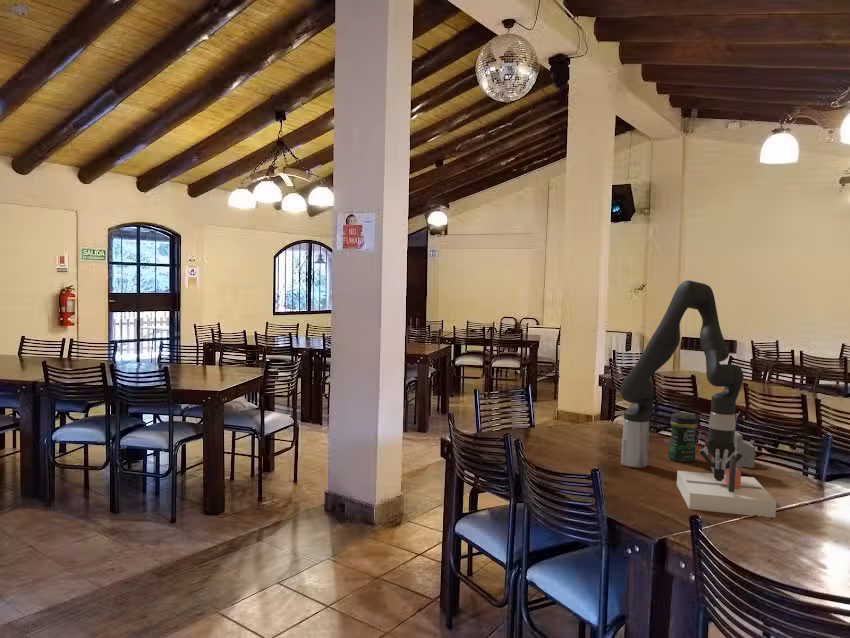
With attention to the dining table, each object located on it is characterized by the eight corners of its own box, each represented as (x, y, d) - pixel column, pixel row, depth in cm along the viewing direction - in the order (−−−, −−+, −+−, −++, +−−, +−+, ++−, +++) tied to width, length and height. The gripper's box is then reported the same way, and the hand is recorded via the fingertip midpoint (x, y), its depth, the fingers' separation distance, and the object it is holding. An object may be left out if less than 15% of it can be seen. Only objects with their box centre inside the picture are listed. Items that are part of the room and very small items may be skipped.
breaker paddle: (729, 487, 200) (730, 471, 200) (725, 481, 206) (726, 466, 205) (740, 488, 199) (741, 472, 199) (735, 482, 205) (736, 467, 205)
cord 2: (729, 492, 193) (731, 455, 192) (727, 490, 194) (730, 454, 194) (734, 492, 192) (737, 456, 192) (733, 490, 194) (735, 454, 193)
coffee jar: (676, 463, 244) (679, 415, 243) (664, 457, 252) (667, 411, 251) (699, 462, 246) (701, 415, 245) (686, 456, 254) (689, 410, 253)
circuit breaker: (758, 478, 228) (761, 437, 227) (715, 474, 231) (718, 434, 230) (752, 472, 235) (754, 432, 234) (710, 469, 238) (713, 429, 237)
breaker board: (689, 509, 194) (690, 492, 194) (676, 484, 218) (677, 470, 217) (775, 517, 189) (776, 501, 189) (753, 492, 212) (753, 477, 212)
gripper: (701, 427, 200) (698, 481, 201) (747, 431, 197) (744, 486, 198) (697, 422, 207) (694, 474, 208) (741, 425, 204) (738, 479, 205)
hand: (718, 480), depth 203 cm, fingers closed
